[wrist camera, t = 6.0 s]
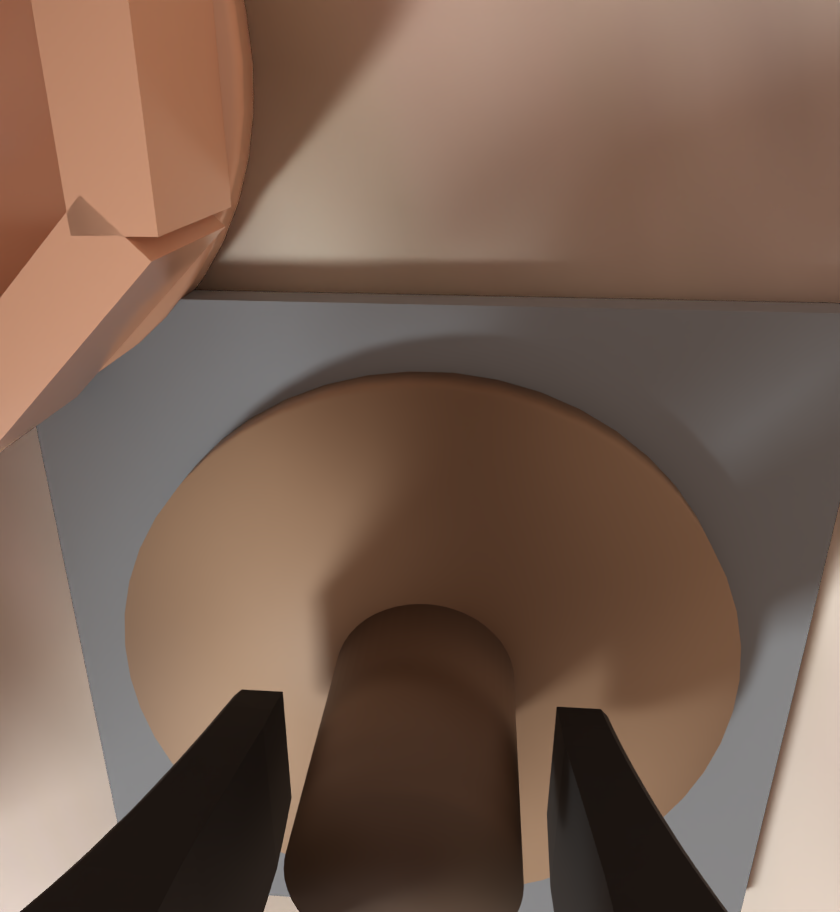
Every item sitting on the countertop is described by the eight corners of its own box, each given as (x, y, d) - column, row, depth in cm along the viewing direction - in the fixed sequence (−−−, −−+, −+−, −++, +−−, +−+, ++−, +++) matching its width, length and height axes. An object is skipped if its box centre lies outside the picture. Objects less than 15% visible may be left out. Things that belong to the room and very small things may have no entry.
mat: (142, 859, 17) (130, 885, 16) (30, 286, 12) (9, 295, 11) (728, 900, 16) (736, 929, 15) (865, 303, 11) (885, 314, 11)
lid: (196, 847, 16) (96, 1104, 12) (87, 380, 12) (-118, 523, 8) (700, 859, 15) (780, 1142, 11) (759, 359, 11) (916, 507, 7)
